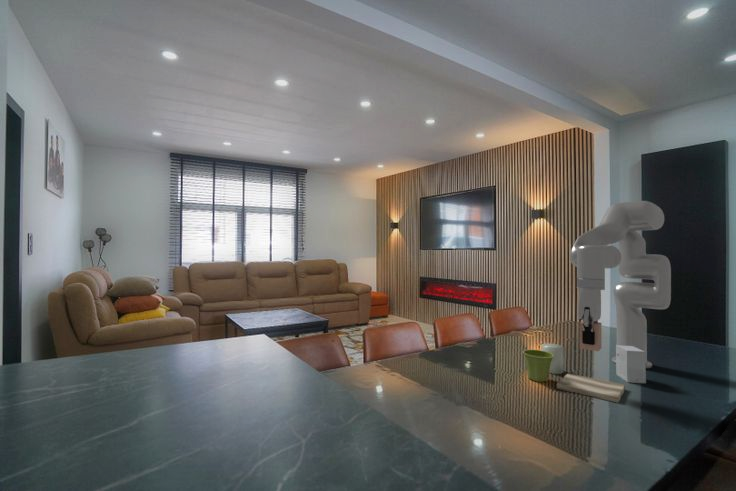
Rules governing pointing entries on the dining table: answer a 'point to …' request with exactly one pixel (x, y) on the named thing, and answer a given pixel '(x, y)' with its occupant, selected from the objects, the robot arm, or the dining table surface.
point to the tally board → (592, 387)
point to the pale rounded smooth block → (555, 357)
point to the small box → (630, 364)
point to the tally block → (597, 337)
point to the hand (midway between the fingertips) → (590, 342)
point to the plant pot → (538, 364)
